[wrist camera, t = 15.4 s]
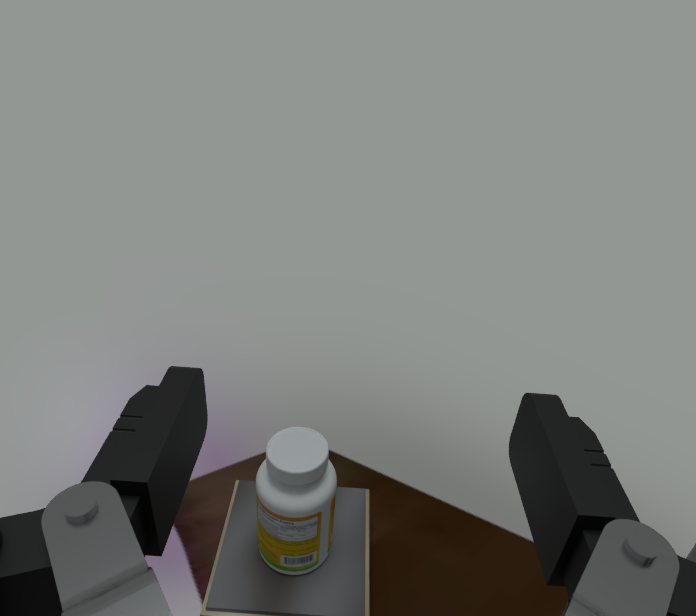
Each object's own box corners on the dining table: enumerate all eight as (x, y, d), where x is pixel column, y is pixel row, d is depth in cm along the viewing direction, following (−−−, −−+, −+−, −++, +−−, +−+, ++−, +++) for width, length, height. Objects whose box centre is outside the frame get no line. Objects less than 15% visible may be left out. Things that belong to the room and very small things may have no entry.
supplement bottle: (294, 499, 42) (296, 406, 37) (346, 540, 39) (356, 446, 34) (242, 545, 38) (236, 449, 33) (296, 593, 36) (298, 497, 30)
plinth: (365, 517, 46) (369, 486, 44) (364, 655, 36) (369, 623, 34) (238, 508, 46) (236, 476, 44) (204, 643, 36) (199, 611, 34)
